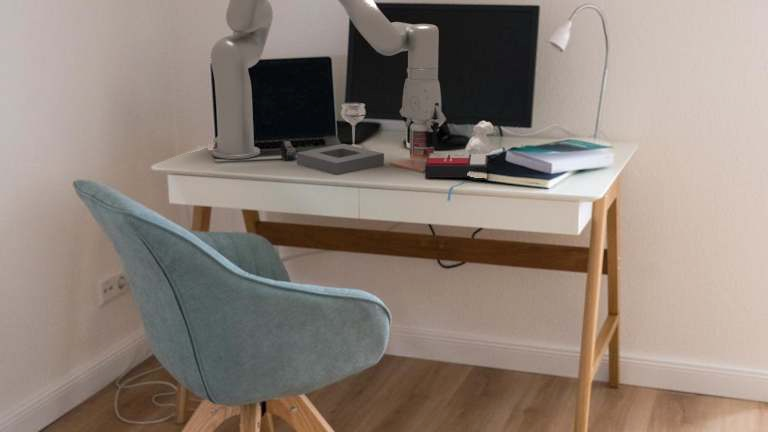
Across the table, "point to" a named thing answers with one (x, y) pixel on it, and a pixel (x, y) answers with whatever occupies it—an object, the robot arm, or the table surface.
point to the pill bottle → (419, 140)
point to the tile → (411, 164)
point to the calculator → (454, 164)
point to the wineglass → (353, 115)
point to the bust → (480, 139)
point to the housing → (340, 159)
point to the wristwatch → (287, 151)
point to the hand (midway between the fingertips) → (421, 143)
